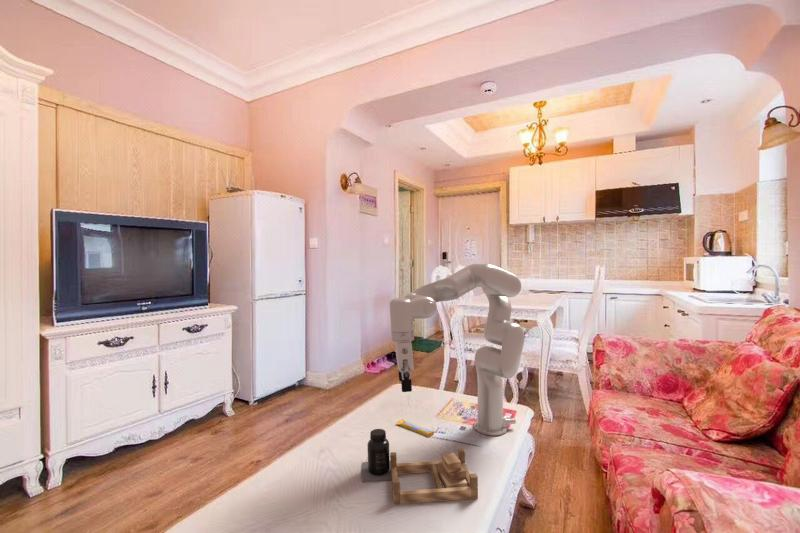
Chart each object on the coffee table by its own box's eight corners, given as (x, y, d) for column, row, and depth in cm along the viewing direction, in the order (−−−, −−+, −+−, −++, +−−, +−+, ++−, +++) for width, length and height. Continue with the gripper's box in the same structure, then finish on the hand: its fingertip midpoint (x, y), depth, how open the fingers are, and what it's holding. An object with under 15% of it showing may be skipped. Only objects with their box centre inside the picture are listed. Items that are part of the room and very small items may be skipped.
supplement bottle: (392, 465, 116) (392, 428, 116) (385, 478, 110) (384, 438, 109) (373, 462, 118) (372, 425, 118) (364, 474, 112) (363, 435, 112)
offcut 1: (454, 460, 110) (453, 452, 110) (461, 470, 106) (460, 461, 105) (441, 463, 109) (441, 454, 109) (448, 472, 104) (448, 464, 104)
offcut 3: (456, 474, 113) (456, 465, 112) (467, 493, 104) (467, 482, 104) (437, 477, 111) (437, 467, 111) (447, 496, 103) (447, 485, 102)
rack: (463, 466, 116) (463, 448, 116) (477, 498, 101) (477, 477, 100) (390, 471, 114) (390, 452, 114) (393, 504, 99) (393, 482, 99)
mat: (393, 461, 119) (393, 460, 119) (395, 480, 109) (395, 478, 109) (362, 463, 119) (362, 462, 119) (361, 482, 109) (361, 481, 109)
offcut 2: (452, 466, 112) (451, 458, 112) (465, 478, 106) (465, 470, 105) (438, 471, 110) (438, 462, 110) (451, 483, 103) (451, 475, 103)
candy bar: (436, 435, 137) (436, 430, 137) (429, 439, 134) (429, 434, 134) (402, 422, 149) (402, 417, 149) (395, 426, 146) (395, 421, 145)
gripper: (417, 341, 113) (420, 395, 114) (410, 329, 130) (413, 376, 131) (393, 342, 112) (396, 397, 113) (389, 330, 129) (392, 377, 130)
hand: (405, 385), depth 122 cm, fingers open, 9 cm apart
